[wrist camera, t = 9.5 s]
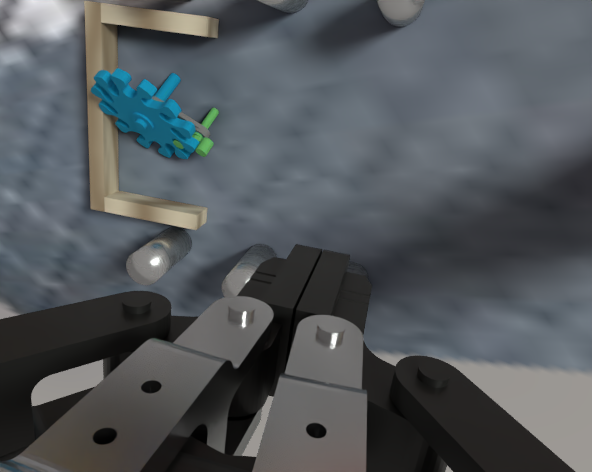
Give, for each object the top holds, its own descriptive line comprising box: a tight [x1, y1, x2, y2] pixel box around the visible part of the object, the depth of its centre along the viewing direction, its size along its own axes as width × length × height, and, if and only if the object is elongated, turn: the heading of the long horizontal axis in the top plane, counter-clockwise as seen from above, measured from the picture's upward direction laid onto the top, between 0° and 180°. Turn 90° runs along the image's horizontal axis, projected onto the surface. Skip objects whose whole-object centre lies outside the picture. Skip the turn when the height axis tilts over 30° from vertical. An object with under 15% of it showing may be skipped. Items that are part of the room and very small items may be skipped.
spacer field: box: [126, 0, 425, 298], centre depth 40 cm, size 21×27×7 cm
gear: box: [91, 68, 219, 159], centre depth 42 cm, size 11×6×10 cm
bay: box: [84, 1, 219, 230], centre depth 44 cm, size 11×18×2 cm, turn 173°
